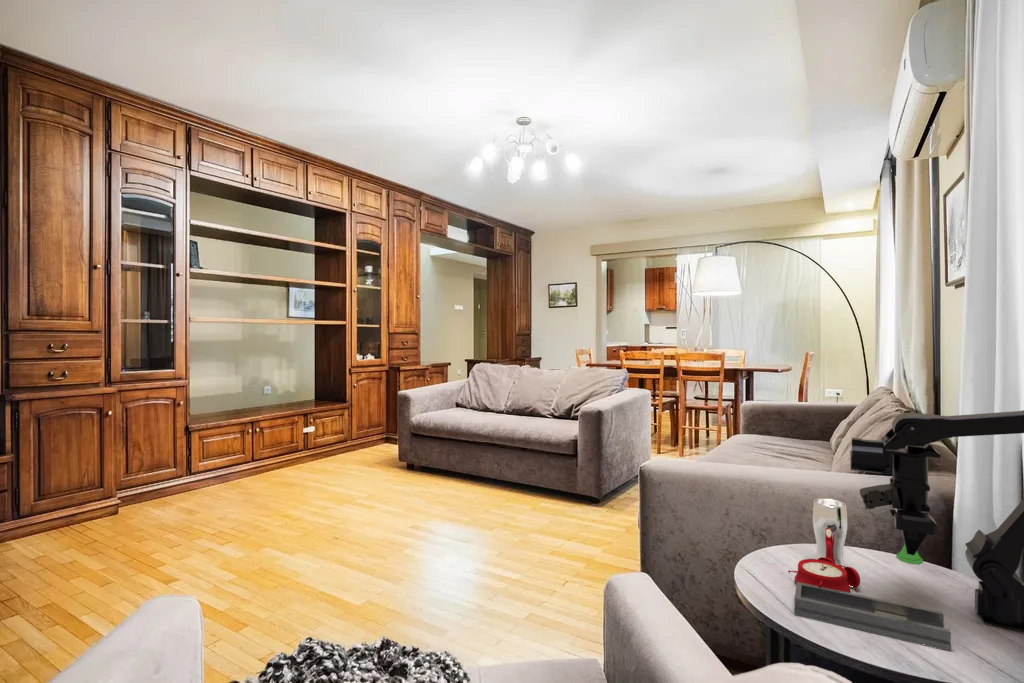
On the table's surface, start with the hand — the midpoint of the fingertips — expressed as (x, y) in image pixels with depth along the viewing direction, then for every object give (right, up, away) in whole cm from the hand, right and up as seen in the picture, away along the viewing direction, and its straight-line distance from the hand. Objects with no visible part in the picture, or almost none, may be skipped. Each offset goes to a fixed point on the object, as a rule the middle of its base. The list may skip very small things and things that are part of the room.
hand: (909, 552), depth 107 cm
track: (-13, -11, -6) cm, 18 cm away
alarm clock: (-12, -10, +8) cm, 18 cm away
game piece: (0, -2, 0) cm, 2 cm away
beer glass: (-6, -10, +17) cm, 21 cm away
